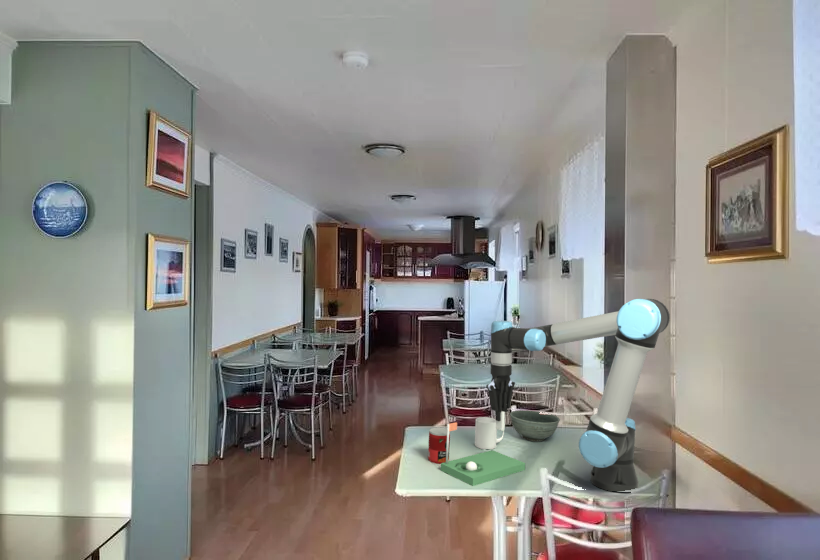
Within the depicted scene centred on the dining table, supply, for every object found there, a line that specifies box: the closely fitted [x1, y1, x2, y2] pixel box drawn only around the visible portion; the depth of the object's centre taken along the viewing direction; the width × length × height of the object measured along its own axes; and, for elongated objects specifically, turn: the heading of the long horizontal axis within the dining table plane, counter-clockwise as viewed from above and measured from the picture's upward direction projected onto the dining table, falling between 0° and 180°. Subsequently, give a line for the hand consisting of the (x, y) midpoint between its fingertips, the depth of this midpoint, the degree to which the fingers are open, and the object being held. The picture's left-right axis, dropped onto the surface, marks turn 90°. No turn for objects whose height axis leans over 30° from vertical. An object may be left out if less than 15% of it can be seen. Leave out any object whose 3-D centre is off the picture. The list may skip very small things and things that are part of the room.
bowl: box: [509, 409, 561, 442], centre depth 227 cm, size 21×21×10 cm
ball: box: [466, 461, 477, 470], centre depth 184 cm, size 4×4×4 cm
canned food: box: [427, 427, 451, 465], centre depth 196 cm, size 8×8×11 cm
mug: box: [474, 416, 505, 450], centre depth 214 cm, size 9×12×11 cm
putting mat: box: [440, 422, 526, 487], centre depth 188 cm, size 16×26×16 cm, turn 128°
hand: (500, 429), depth 192 cm, fingers closed
